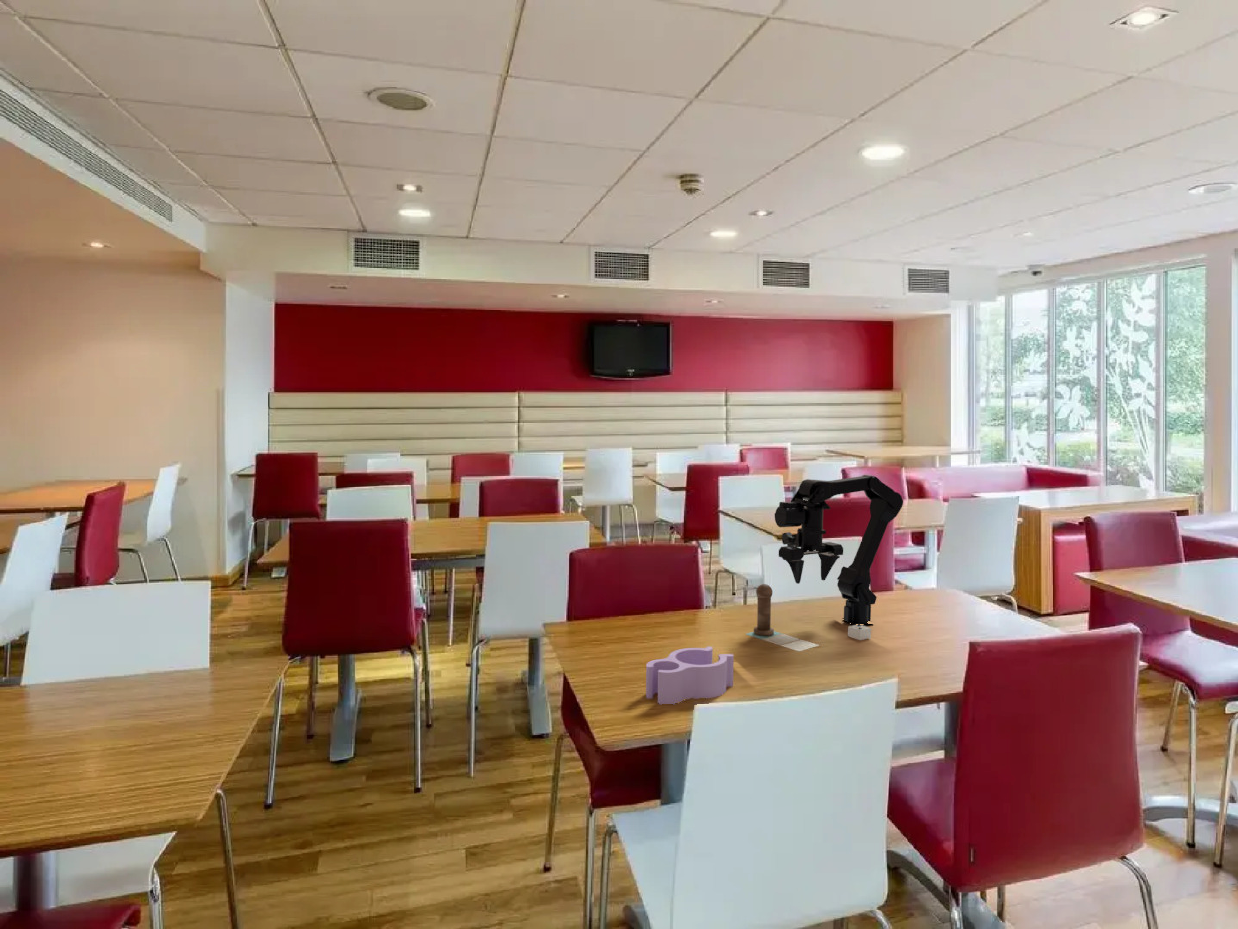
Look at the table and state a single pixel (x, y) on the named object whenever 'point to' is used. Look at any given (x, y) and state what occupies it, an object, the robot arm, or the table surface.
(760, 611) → the pawn
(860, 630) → the die
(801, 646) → the board
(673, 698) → the clip
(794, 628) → the table surface
